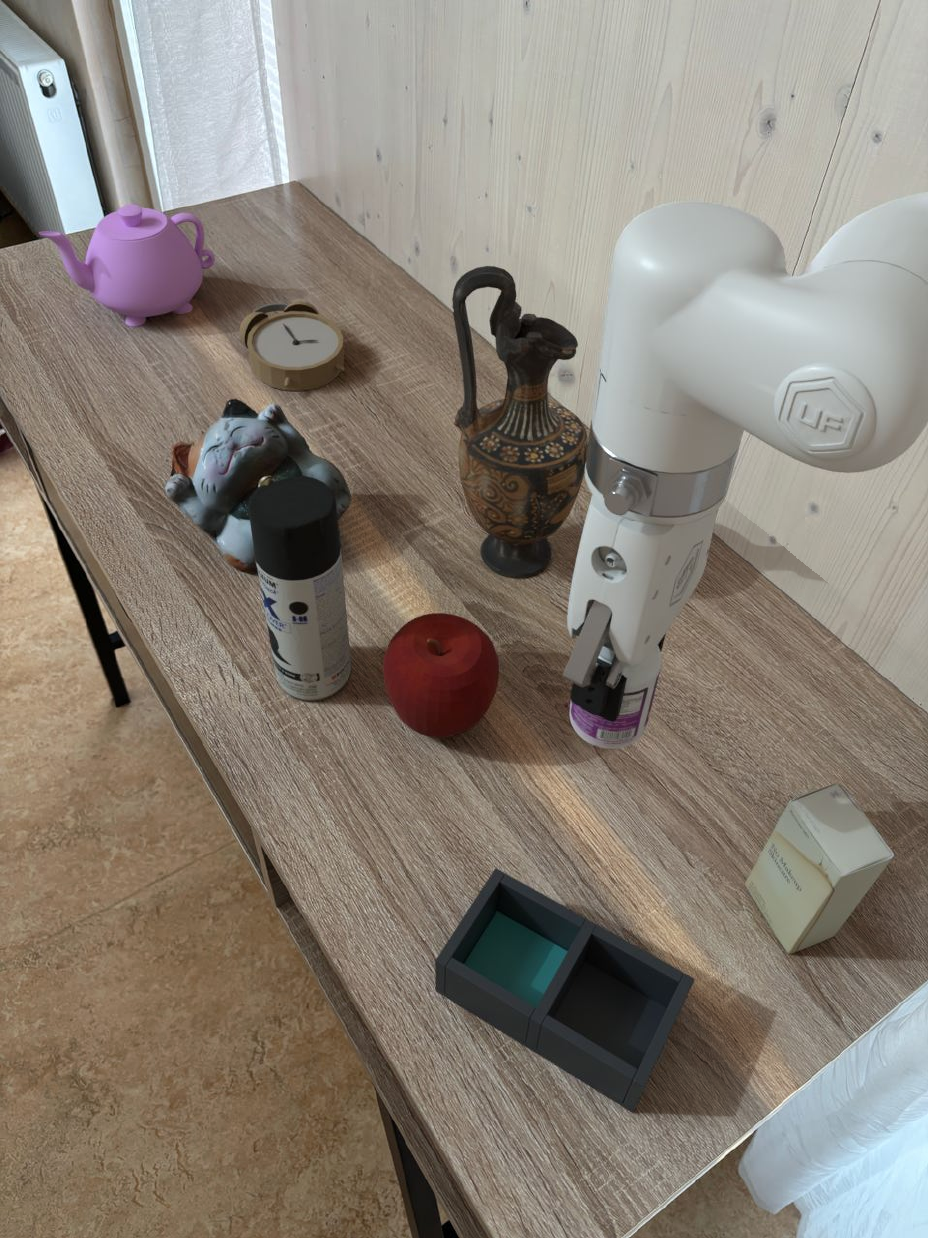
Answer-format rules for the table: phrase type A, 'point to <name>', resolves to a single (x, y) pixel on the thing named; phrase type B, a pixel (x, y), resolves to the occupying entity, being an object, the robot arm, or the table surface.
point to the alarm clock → (292, 346)
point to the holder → (562, 987)
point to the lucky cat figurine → (243, 474)
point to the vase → (517, 433)
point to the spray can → (302, 585)
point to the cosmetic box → (816, 867)
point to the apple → (440, 674)
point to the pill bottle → (622, 706)
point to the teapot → (139, 263)
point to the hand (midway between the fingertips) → (616, 675)
